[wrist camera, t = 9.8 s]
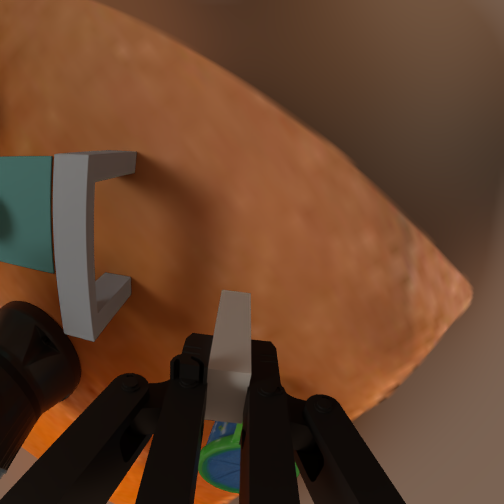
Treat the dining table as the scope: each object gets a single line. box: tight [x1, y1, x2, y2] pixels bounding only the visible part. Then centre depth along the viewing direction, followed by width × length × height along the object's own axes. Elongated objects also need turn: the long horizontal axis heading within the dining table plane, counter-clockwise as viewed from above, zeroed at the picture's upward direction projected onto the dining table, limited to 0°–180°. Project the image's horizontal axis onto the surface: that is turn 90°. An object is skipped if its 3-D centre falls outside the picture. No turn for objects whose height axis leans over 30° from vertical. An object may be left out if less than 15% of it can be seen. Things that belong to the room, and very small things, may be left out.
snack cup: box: [198, 420, 300, 493], centre depth 31 cm, size 16×10×10 cm
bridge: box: [53, 150, 137, 342], centre depth 25 cm, size 3×14×9 cm, turn 172°
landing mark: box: [0, 156, 54, 273], centre depth 29 cm, size 13×13×1 cm
